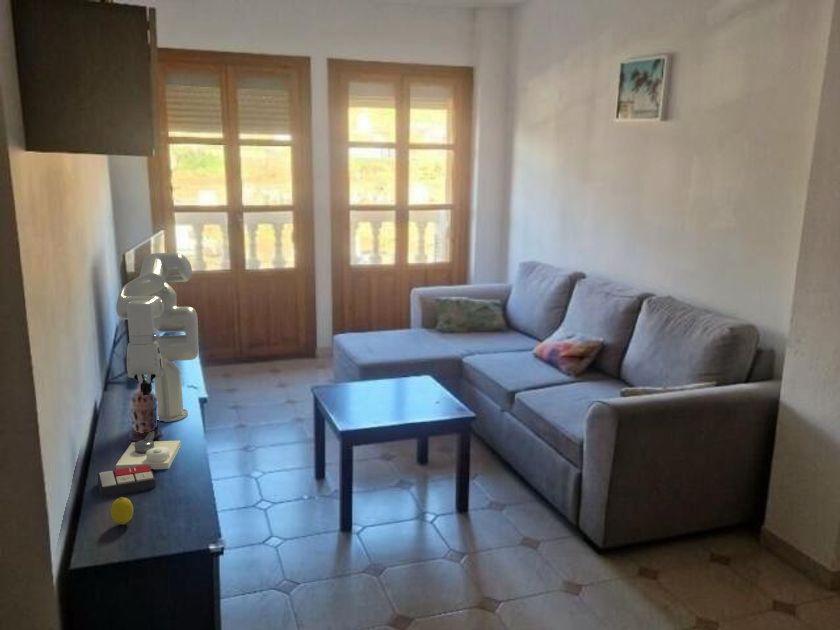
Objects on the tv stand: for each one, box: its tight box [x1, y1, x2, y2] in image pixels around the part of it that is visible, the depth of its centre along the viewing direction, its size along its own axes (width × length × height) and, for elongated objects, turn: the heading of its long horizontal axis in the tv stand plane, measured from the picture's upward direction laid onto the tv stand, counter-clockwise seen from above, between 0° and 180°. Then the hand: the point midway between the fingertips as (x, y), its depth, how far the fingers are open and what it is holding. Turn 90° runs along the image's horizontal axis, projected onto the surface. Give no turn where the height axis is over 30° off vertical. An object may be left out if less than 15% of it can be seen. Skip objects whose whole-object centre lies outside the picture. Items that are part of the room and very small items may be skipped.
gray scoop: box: [134, 430, 155, 454], centre depth 233 cm, size 13×6×2 cm, turn 7°
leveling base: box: [115, 440, 182, 470], centre depth 228 cm, size 18×16×5 cm
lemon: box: [110, 496, 134, 526], centre depth 186 cm, size 6×6×8 cm
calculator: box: [97, 465, 156, 499], centre depth 209 cm, size 11×4×15 cm
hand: (146, 394), depth 224 cm, fingers closed
